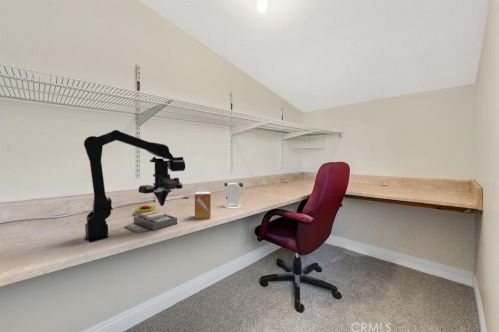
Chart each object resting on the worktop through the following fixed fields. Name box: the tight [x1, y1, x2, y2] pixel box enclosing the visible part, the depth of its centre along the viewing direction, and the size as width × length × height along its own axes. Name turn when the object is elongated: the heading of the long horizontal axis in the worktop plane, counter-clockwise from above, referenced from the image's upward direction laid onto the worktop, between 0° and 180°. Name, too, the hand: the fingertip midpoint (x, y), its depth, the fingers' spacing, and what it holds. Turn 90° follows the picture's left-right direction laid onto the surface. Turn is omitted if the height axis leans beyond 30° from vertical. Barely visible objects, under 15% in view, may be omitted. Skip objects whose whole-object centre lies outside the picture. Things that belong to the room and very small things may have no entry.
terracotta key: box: [140, 210, 159, 218], centre depth 109 cm, size 7×4×2 cm, turn 144°
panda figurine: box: [223, 182, 244, 209], centre depth 141 cm, size 12×11×15 cm
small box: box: [194, 191, 212, 220], centre depth 117 cm, size 8×6×13 cm
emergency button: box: [133, 204, 157, 218], centre depth 125 cm, size 9×4×15 cm
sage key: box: [153, 217, 171, 223], centre depth 103 cm, size 7×4×2 cm, turn 144°
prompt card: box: [124, 223, 148, 234], centre depth 98 cm, size 4×12×1 cm, turn 53°
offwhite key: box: [146, 212, 165, 221], centre depth 106 cm, size 7×4×2 cm, turn 144°
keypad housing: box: [133, 211, 178, 232], centre depth 106 cm, size 12×17×3 cm
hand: (162, 205), depth 102 cm, fingers closed
